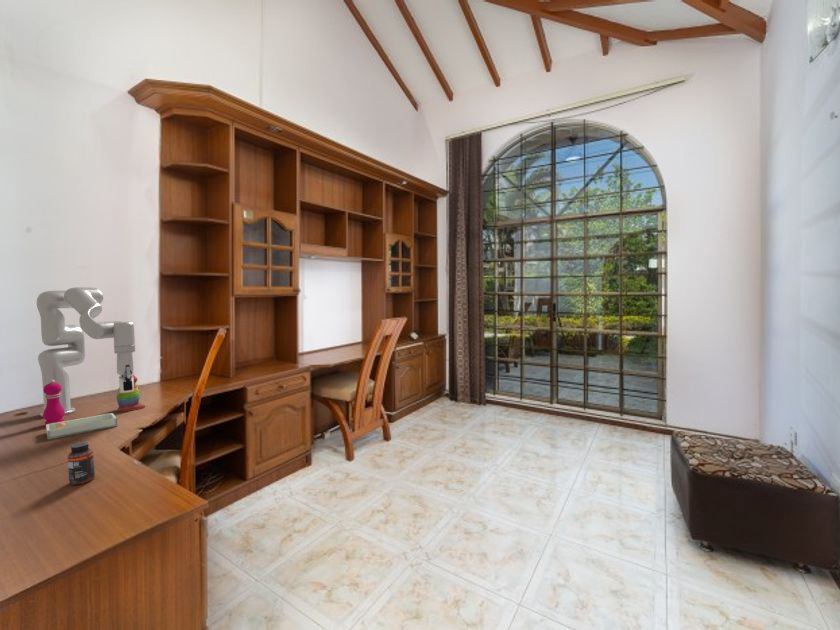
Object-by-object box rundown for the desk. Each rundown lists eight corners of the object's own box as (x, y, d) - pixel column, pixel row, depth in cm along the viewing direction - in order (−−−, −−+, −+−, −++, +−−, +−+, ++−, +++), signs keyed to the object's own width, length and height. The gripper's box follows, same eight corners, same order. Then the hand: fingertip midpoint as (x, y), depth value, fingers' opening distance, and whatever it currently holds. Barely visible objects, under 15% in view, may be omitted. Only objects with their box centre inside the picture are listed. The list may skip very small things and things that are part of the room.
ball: (59, 432, 165) (55, 429, 166) (68, 428, 167) (64, 424, 169) (56, 427, 163) (52, 423, 165) (65, 422, 166) (61, 419, 167)
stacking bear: (146, 407, 202) (145, 372, 201) (124, 412, 193) (122, 376, 192) (134, 405, 207) (133, 371, 206) (112, 410, 198) (110, 374, 197)
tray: (46, 432, 165) (46, 424, 165) (112, 420, 180) (112, 412, 180) (47, 439, 156) (47, 431, 156) (117, 426, 172) (116, 418, 172)
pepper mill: (52, 427, 172) (49, 381, 171) (39, 426, 174) (36, 381, 173) (69, 422, 179) (67, 378, 178) (57, 421, 181) (54, 377, 180)
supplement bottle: (92, 475, 124) (90, 439, 124) (97, 480, 121) (95, 443, 120) (67, 482, 120) (65, 445, 119) (71, 487, 116) (69, 449, 116)
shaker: (118, 391, 180) (118, 376, 180) (132, 389, 183) (132, 374, 183) (120, 393, 176) (120, 378, 176) (135, 391, 180) (134, 376, 179)
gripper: (111, 348, 182) (113, 387, 183) (117, 351, 170) (119, 393, 171) (131, 346, 188) (133, 385, 188) (138, 350, 175) (140, 390, 176)
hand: (126, 388), depth 180 cm, fingers closed on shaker, 5 cm apart
